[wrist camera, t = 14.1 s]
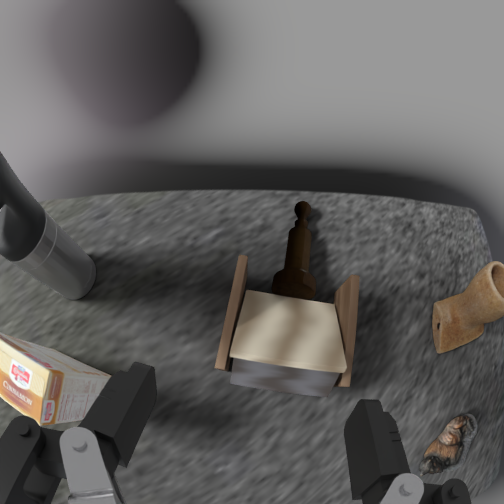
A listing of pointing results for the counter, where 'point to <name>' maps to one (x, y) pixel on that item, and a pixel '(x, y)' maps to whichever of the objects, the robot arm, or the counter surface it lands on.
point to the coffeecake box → (46, 382)
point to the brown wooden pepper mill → (297, 260)
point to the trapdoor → (287, 345)
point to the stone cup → (469, 309)
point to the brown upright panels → (343, 305)
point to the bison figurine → (450, 446)
